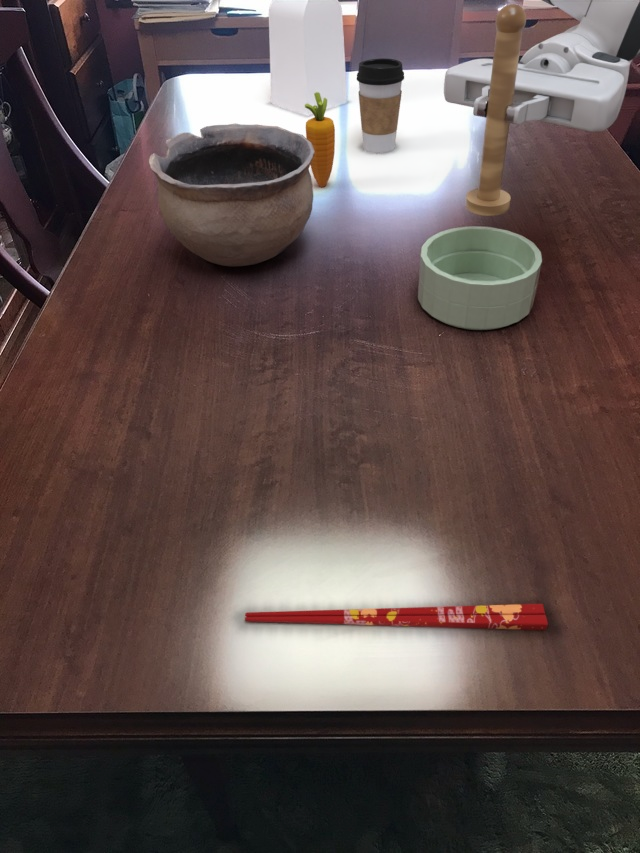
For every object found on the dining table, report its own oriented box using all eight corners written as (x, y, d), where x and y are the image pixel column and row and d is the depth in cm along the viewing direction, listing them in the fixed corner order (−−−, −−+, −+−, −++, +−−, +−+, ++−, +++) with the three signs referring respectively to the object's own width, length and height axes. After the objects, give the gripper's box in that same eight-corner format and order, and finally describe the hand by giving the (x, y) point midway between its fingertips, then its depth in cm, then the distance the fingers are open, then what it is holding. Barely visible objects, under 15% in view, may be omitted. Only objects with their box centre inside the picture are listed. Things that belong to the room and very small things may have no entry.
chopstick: (246, 612, 56) (244, 606, 56) (541, 609, 56) (543, 602, 55) (244, 634, 55) (242, 627, 54) (546, 631, 54) (549, 624, 54)
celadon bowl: (485, 263, 97) (492, 216, 92) (556, 313, 87) (567, 264, 82) (396, 291, 92) (399, 243, 88) (460, 347, 83) (466, 296, 78)
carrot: (331, 195, 115) (329, 100, 105) (303, 192, 116) (298, 98, 106) (340, 183, 119) (338, 90, 108) (313, 180, 120) (309, 88, 110)
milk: (271, 105, 150) (260, -37, 133) (310, 92, 156) (304, -46, 138) (308, 117, 143) (301, -30, 126) (347, 103, 149) (346, -40, 131)
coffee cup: (347, 152, 129) (347, 64, 119) (371, 137, 134) (372, 52, 124) (386, 160, 125) (389, 71, 115) (409, 145, 130) (413, 58, 120)
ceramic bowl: (222, 208, 113) (208, 113, 103) (342, 231, 105) (340, 131, 95) (139, 272, 98) (114, 168, 88) (272, 304, 91) (261, 195, 81)
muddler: (491, 193, 85) (517, -4, 71) (518, 209, 82) (551, 5, 68) (456, 203, 84) (475, 3, 69) (482, 219, 80) (508, 12, 66)
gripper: (480, 38, 85) (417, 66, 78) (645, 63, 75) (590, 98, 68) (475, 92, 90) (414, 124, 82) (629, 123, 79) (577, 161, 72)
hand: (495, 112), depth 75 cm, fingers closed on muddler, 2 cm apart
